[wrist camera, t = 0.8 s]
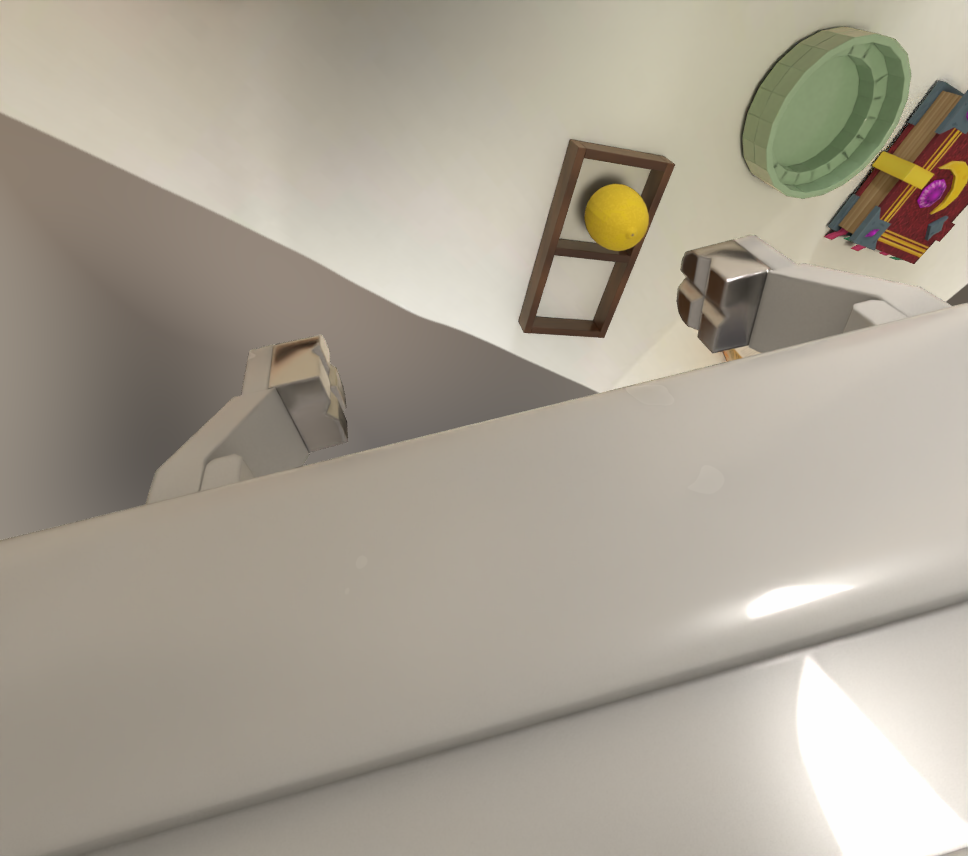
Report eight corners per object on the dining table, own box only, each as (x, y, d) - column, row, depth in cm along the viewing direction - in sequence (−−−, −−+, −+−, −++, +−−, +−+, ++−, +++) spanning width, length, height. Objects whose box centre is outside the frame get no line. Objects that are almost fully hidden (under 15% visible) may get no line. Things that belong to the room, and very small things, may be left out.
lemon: (626, 165, 52) (664, 196, 46) (626, 220, 56) (660, 255, 50) (571, 180, 52) (602, 213, 46) (575, 234, 56) (603, 271, 50)
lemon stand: (569, 139, 49) (578, 147, 48) (663, 156, 52) (675, 164, 51) (518, 321, 62) (523, 333, 60) (596, 326, 65) (604, 338, 63)
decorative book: (998, 118, 57) (1043, 132, 54) (879, 258, 67) (911, 277, 63) (935, 79, 53) (979, 91, 49) (817, 234, 62) (847, 253, 59)
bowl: (790, 10, 46) (825, 17, 43) (903, 44, 50) (942, 53, 47) (715, 172, 55) (740, 188, 51) (817, 190, 58) (846, 206, 55)
